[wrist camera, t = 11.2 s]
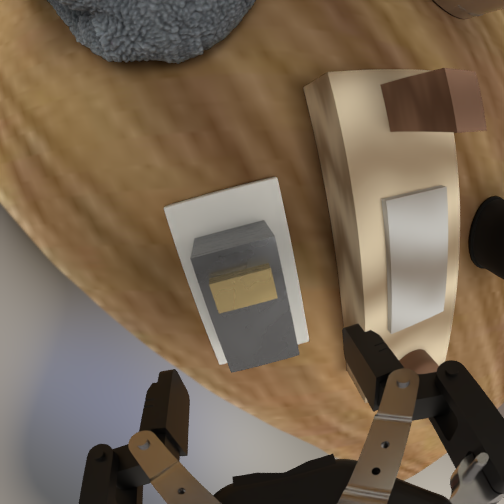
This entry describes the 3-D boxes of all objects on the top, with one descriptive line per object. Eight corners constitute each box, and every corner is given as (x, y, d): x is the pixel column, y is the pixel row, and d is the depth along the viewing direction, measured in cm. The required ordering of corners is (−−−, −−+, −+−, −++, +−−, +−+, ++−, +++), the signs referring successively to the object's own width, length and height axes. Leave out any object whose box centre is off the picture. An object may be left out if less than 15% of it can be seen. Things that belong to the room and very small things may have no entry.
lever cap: (194, 238, 21) (189, 263, 16) (264, 220, 21) (277, 240, 17) (228, 340, 24) (232, 379, 20) (287, 324, 24) (302, 361, 20)
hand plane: (303, 87, 19) (380, 42, 9) (403, 80, 19) (503, 60, 9) (346, 369, 28) (391, 451, 18) (419, 340, 28) (476, 404, 18)
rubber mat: (165, 205, 21) (163, 208, 20) (275, 176, 21) (277, 177, 20) (219, 359, 26) (219, 364, 25) (306, 335, 26) (309, 341, 25)
